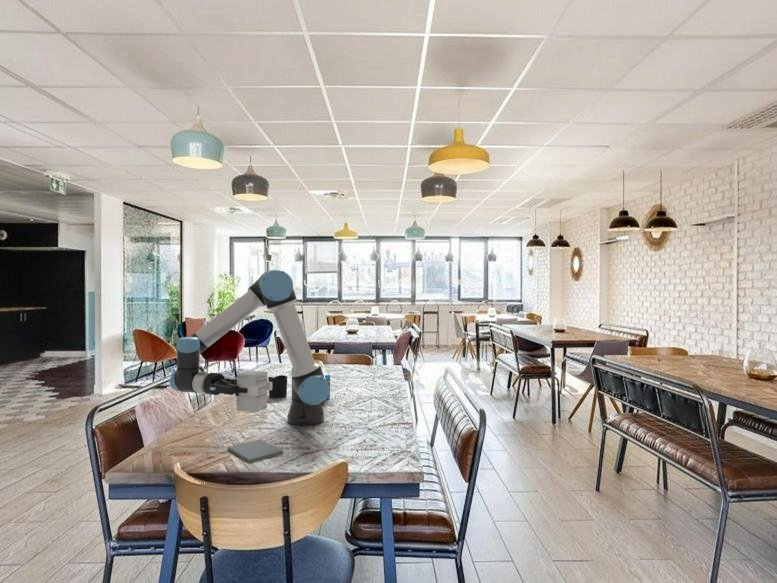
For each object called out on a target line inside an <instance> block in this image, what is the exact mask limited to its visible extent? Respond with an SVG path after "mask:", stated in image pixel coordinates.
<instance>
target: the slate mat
mask: <svg viewBox="0 0 777 583" xmlns="http://www.w3.org/2000/svg"><path fill="white" fill-rule="evenodd" d="M227 451H229V452H231V453H232V452H233V454H234V455H236V456H237V455H238V456H237V457H239V458H241V459H243V460H245V461H246V462H248V463H253V461H254V462H257V460H258V461H260V460H264V458H265V459H268V457H269V458H272V457H275V455H276V456H279V455H283V454H284V450H283V449H281V448H279V447H277V446H275V445H273V444H271V443H270V442H267V441H264V440H263V439H260V438H259V439H255V440H251V441H246V442H243V443H239V444H234V445H230V446H228V447H227ZM282 453H283V454H282ZM278 454H279V455H278Z"/></svg>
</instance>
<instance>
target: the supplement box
mask: <svg viewBox="0 0 777 583" xmlns="http://www.w3.org/2000/svg"><path fill="white" fill-rule="evenodd" d="M236 378H237V386H239V387H240V385H245V386H256V387H258V395H247V394H240V393H239V396H236V411H237V412H247V413H252V414H256V413H258V412H261V411H264V410H266V409H267V408H268V390H267V382H268V371H262V370H251V369H250V370H249V369H248V370H246V371H242V372H238V373H237V374H236Z"/></svg>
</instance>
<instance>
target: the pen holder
mask: <svg viewBox="0 0 777 583" xmlns="http://www.w3.org/2000/svg"><path fill="white" fill-rule="evenodd" d="M267 382H272V390H268V397H269V398H271V399H283V398H286V397H287V394H288V392H287V391H288V376H287V375H283V374H281V375H277V376H274V377H272V376H267Z"/></svg>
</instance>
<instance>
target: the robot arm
mask: <svg viewBox="0 0 777 583" xmlns="http://www.w3.org/2000/svg"><path fill="white" fill-rule="evenodd" d="M297 300H298V299H297V296H296V293H295V290H294V281H293V278H292V277H291V275H289V273H287V272H286V271H284V270H282V269H278V268H274V269H270V270H267V271H265V272H263V273H262V274H261V275H260V277H259V278H258V279H257V280H256V281H255V282H254V283H253V284H251V285H250V286H248V287H247V291H246V292H245V293H244V294H242V296H240V297H239V298H238V299H236V300H235V301H234V302H233V303H231V304H230V305H229V306H228V307H226V308H224V310H223V311H221V312H220V313H219V314H217V315H215V316H214V317H213V318H212V319H211V320H210V321H209V322H207V323H205V325H203V326H202V327H200V328H199V329H197V331H195V333H193V334H192V335H190V336H185V337H178V339H177V341H176V370H174V371H173V372H172V373H171V374H170V378H169V386H170V387H171V389H173V390H174V391H177V392H181V393H192V394H193V393H194V394H201V395H202V396H205V395H210V396H211V395H212V396H218V395H221V394H223V395H228V396H229V395H230V396H233V395H234V394H235V395H234V396H235V397H237V396H239V393H240V394H247V395H258V387H256V386H245V385H240V387H239V386H237V377H235V378H230V377H225V376H224V375H223V373H220V372H210V371H200V357H201V354H202V353H204V351H206V350H207V349H208V348H209V347H210V346H212V345H213V344H214V343H216V341H218V340H220V339H221V338H222V337H223V336H224V335H226V334H227V333H228V332H229V331H231V330H233V328H235V327H236V326H238V325H239V324H240V323H241V322H242V321H244V320H245V319H246V318H247V317H248V316H250V315H251V314H252V313H254V312H255V311H256V310H257V309H258V308H260V307H261V308H264V307H265V306H266V308H267V310H268V311H271V312H272V314H273V316H274V318H275V322H276V325H277V328H278V330H279V333H280V336H281V338H282V342H283V344H284V347H285V349H286V352H287V355H288V359H289V361H290V364H291V366H292V367H291V373H290V374H291V375H290V376H291V403H290V406H289V410H288V413H287V418H286V419H287V423H288V424H290V425H295V426H309V425H311V424H312V425H316V423H317V424H320V423H323V421H324V420H325V412H324V410H323V408H322V403H324V402H325V401H326V400H325V399H326V398H327V396H328V394H329V384H328V381H327V380H326V378H324V376H325V375H324V372H323V370H322V367H321V364H320V363H318V362H316V361H315V359H314V356H313V352H312V350H311V347H310V344H309V342H308V339H307V336H306V334H305V330H304V327H303V324H302V321H301V319H300V316H299V314H298V311H297V308H296V306H295V305H296V302H297ZM269 390H272V382H269V381H267V391H269ZM312 425H311V426H312Z"/></svg>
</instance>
